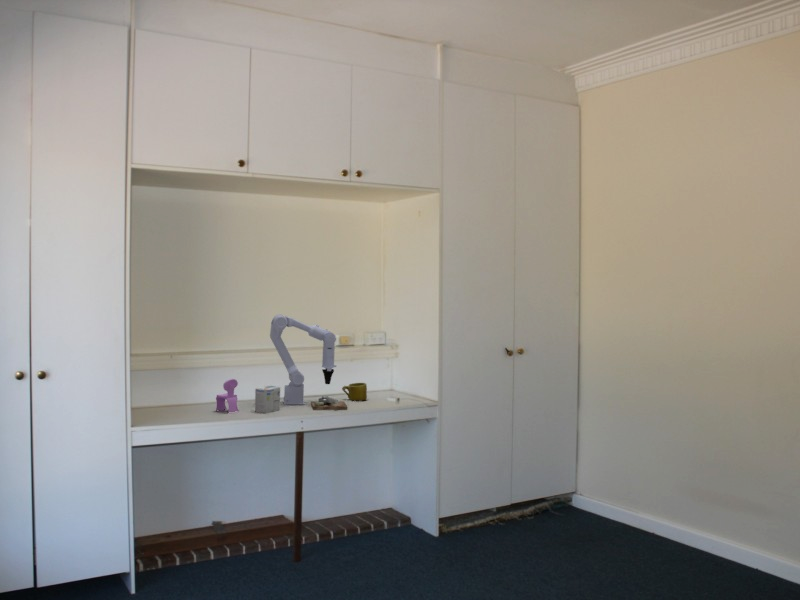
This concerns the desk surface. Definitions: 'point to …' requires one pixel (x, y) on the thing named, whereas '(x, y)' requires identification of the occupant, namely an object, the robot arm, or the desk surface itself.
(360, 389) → the mug
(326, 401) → the grey lever handle
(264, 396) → the light bulb box
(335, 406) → the base
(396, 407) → the desk surface
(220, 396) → the toy chair
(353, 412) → the desk surface
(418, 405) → the desk surface
